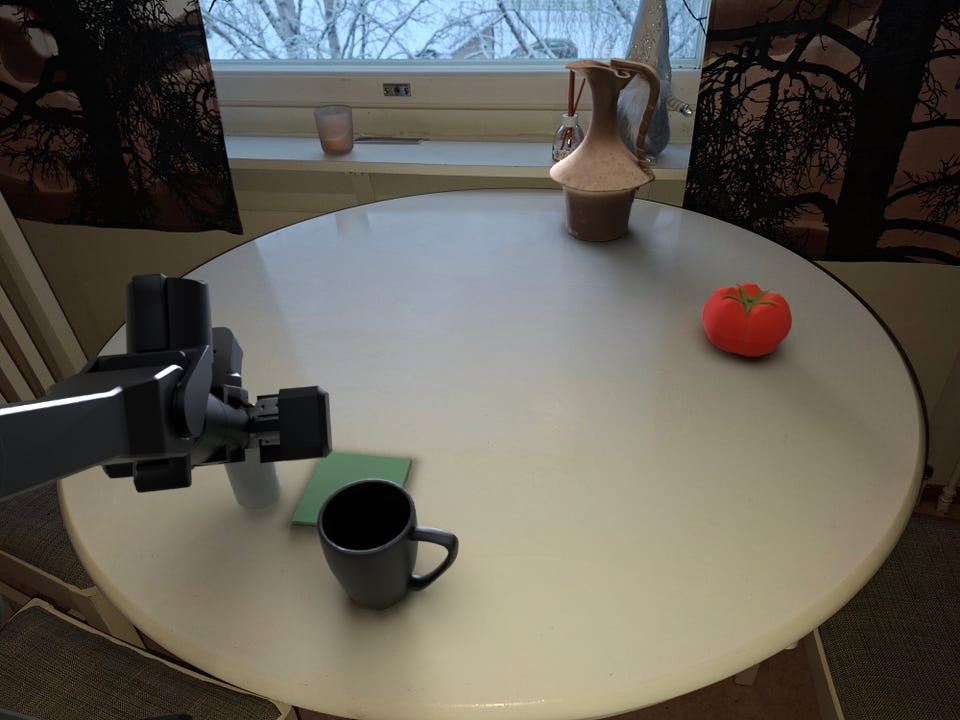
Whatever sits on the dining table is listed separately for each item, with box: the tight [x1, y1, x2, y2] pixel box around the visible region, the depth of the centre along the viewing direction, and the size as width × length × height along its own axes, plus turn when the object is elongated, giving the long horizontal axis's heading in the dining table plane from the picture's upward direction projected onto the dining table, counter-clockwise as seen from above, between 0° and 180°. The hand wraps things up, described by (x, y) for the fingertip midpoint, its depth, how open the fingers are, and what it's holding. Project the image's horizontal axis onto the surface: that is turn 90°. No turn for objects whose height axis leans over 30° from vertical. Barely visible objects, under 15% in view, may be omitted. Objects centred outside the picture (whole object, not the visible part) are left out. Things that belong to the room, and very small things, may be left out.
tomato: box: [701, 282, 793, 357], centre depth 88 cm, size 11×11×8 cm
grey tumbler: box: [223, 402, 283, 511], centre depth 66 cm, size 4×4×10 cm
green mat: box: [291, 451, 413, 527], centre depth 71 cm, size 10×10×1 cm
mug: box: [316, 479, 460, 611], centre depth 59 cm, size 8×12×10 cm
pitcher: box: [549, 57, 661, 242], centre depth 111 cm, size 18×17×28 cm
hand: (246, 436), depth 67 cm, fingers closed on grey tumbler, 4 cm apart
